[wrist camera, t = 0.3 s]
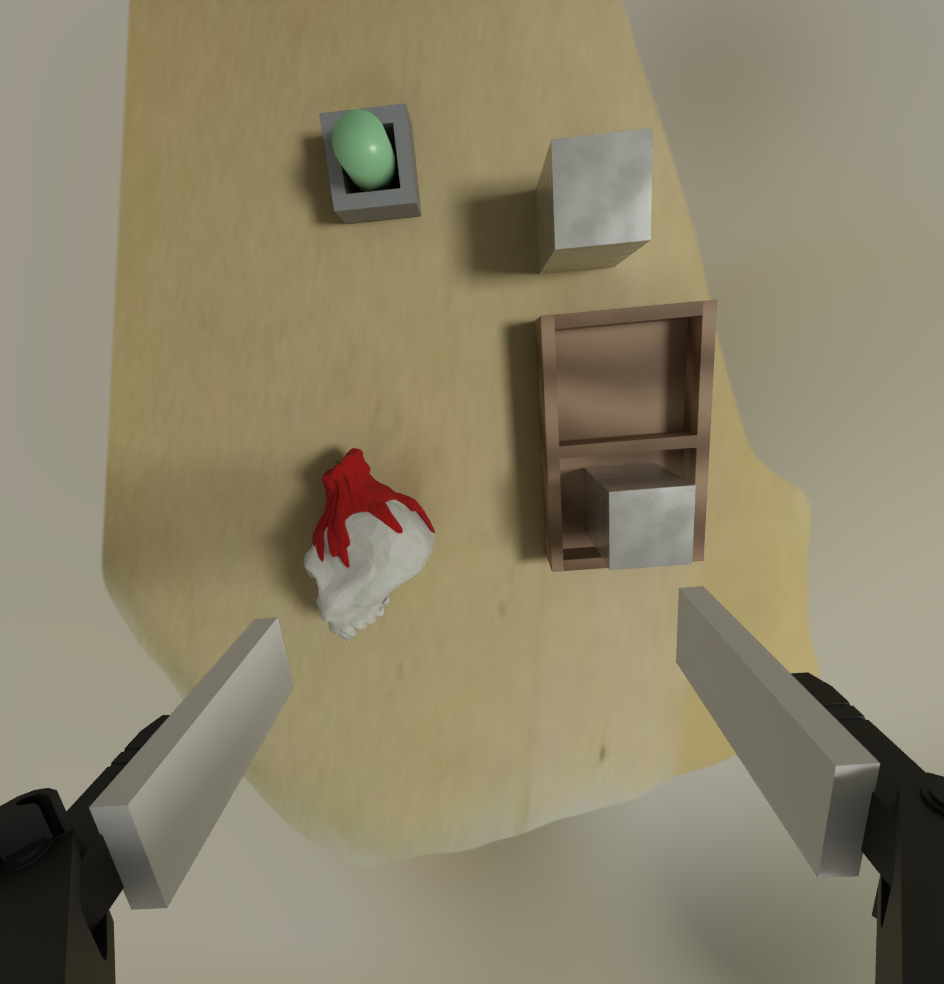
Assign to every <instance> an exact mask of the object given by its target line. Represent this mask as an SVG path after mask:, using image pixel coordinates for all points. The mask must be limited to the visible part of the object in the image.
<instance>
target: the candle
mask: <svg viewBox="0 0 944 984" xmlns="http://www.w3.org/2000/svg"><path fill="white" fill-rule="evenodd" d="M336 463H337V464H338V465H335V466H334V468H333V469H330V470H328V471H326V473H325V474H324V475H323V477H322V481H323V484H324V487H325V489H326V495H327V499H326V508H325V511H324V513H323V515H322V516H321V518H320V519H319V521H318V523H317V526H316V529H315V532H314V533H313V543H312V546H311V548H310V549H309V551H308V552H307V553H306V554H305V557H304V567H305V568H306V571H307V573H308V575H309V576H310V577H311V578H316V581H317V585H318V592H319V593H318V597H317V600H316V604H317V606H318V608H319V611H320V615H321V618H322V620H323V621H324V622H328V623H329V628H330V631H331V632H332V633H334V634H338V635H339V636H340V637H341V638H342V639H345V640H347V641H349V640H350V637H354V636H356V634H357V633H356V631H355V629H359V630H361V631H362V630H364V629H365V628H366V627H367V624H373V623H374V622H375V620H376V618H375V616H378V617H382V615H383V613H384V611H385V610H384V606H388V605H389V603H390V602H391V601H390V597H389V594H390V592H391V591H393V590H394V589H395V588H397V587H398V586H400V585H401V584H403V583H404V582H406V581H408V580H409V579H411V578H412V577H414V576H416V575H417V574H418V573H419V571H420V570H421V569H422V568H423V566H424V565H425V564H426V562H427V560H428V558H429V556H430V553H431V551H432V549H433V547H434V533H435V531H434V529H433V526H432V524H431V522H430V520H429V518H428V517H427V515H426V513H425V511H424V510H423V509H422V507H421V506H420V505H419V504H418V502H417V501H416V500H415V499H413V498H411V497H409V496H406V495H403V494H401V493H396V492H394V491H393V490H392V489H391V488H390V487H388V486H386V485H384V484H382V483H379V482H378V481H376V480H375V479H374V478H373V477H372V476H371V475H370V474H369V473H370V467H369V465H368V464H367V463H366V462H365V460H364V457H363V452H362V451H361V450H360V449H356V448H353V449H351V450H350V451H349V452H348V453H347V454H346V456H345V457H344V458H343V459H342V461H341V462H338V461H337V460H336ZM366 623H367V624H366ZM349 636H350V637H349Z"/></svg>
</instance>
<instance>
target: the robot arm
mask: <svg viewBox="0 0 944 984" xmlns="http://www.w3.org/2000/svg"><path fill="white" fill-rule="evenodd" d="M676 662H677V664H678V665H679V667H680V668H681V670H682V672H683V673H684V675H685V676H686V678H687V679H688V681H689V682H690V684H691V685H692V687H693V688H694V690H695V691H696V693H697V694H698V696H699V697H700V699H701V700H702V702H703V704H704V705H705V707H706V708H707V710H708V711H709V713H710V714H711V716H712V717H713V719H714V720H715V722H716V723H717V725H718V726H719V728H720V729H721V731H722V733H723V734H724V736H725V737H726V739H727V740H728V742H729V743H730V745H731V746H732V748H733V749H734V751H735V752H736V754H737V755H738V757H739V758H740V760H741V761H742V763H743V765H744V766H745V767H746V769H747V771H748V772H749V774H750V775H751V777H752V778H753V780H754V781H755V783H756V784H757V786H758V787H759V789H760V790H761V792H762V793H763V795H764V796H765V798H766V800H767V801H768V803H769V804H770V805H771V807H772V809H773V810H774V812H775V813H776V815H777V816H778V818H779V819H780V821H781V822H782V824H783V825H784V827H785V828H786V830H787V831H788V833H789V835H790V836H791V838H792V839H793V841H794V842H795V843H796V845H797V847H798V848H799V850H800V851H801V853H802V854H803V856H804V857H805V859H806V860H807V862H808V864H809V865H810V866H811V868H812V870H813V871H814V872H815V874H816V876H817V877H818V878H829V877H851V876H858V875H859V870H860V866H861V860H862V855H863V853H864V854H865V856H866V857H867V858H868V860H869V861H870V862H871V863H872V865H873V866H874V867H875V868H876V870H877V871H878V872H879V873H880V879H879V884H878V888H877V893H876V898H875V902H874V908H873V912H872V916H874V917H875V918H877V938H876V976H875V984H944V777H943V776H939V775H935V774H932V773H926V772H925V771H923V770H922V769H921V768H920V767H919V766H918V765H917V764H916V763H915V762H914V761H913V760H911V759H910V758H909V757H908V756H907V755H906V754H905V753H904V752H903V751H901V749H900V748H898V747H897V746H896V745H895V744H894V743H893V742H892V741H891V740H890V739H889V738H887V737H886V736H885V735H884V734H883V733H882V732H881V731H880V730H879V729H878V728H877V727H876V726H874V725H873V724H872V723H871V722H870V721H869V720H865V717H864V715H862V714H861V713H860V712H859V711H858V710H857V709H856V708H855V707H854V706H851V705H850V703H849V702H848V701H847V700H846V699H845V698H844V697H843V696H842V695H841V694H840V693H839V692H837V691H836V690H835V689H834V688H833V687H832V686H830V685H829V684H827V683H825V682H823V681H822V680H820V679H818V678H817V677H815V676H813V675H811V674H810V673H808V672H807V673H791V674H790V673H789V672H788V671H787V670H786V669H785V668H784V667H783V666H782V665H781V664H780V663H779V662H778V661H777V660H776V659H775V658H774V657H773V656H772V655H771V654H770V653H769V652H768V651H767V650H766V649H765V648H764V647H763V646H762V645H761V644H760V643H759V642H758V641H757V640H756V639H755V638H754V637H753V636H752V635H751V634H750V633H749V632H748V631H747V630H746V629H745V628H744V627H743V626H742V625H741V624H740V623H739V622H738V621H737V620H736V619H735V618H734V617H733V616H732V615H731V614H730V613H729V612H728V611H727V610H726V609H725V608H724V607H723V606H722V605H721V604H720V603H719V602H718V601H717V600H716V599H715V598H714V597H713V596H712V595H711V594H710V593H709V592H708V591H707V590H706V589H705V588H704V587H703V586H701V587H687V588H679V599H678V626H677V654H676ZM293 688H294V685H293V681H292V677H291V672H290V668H289V664H288V660H287V655H286V651H285V647H284V643H283V638H282V634H281V630H280V626H279V621H278V617H276V618H262V619H255V620H254V621H253V622H252V623H251V624H250V625H249V626H248V628H247V629H246V630H245V631H244V632H243V633H242V634H241V636H240V637H239V638H238V639H237V640H236V641H235V642H234V643H233V645H232V646H231V647H230V648H229V649H228V650H227V651H226V653H225V654H224V655H223V656H222V657H221V658H220V659H219V660H218V662H217V663H216V664H215V665H214V666H213V667H212V668H211V670H210V671H209V672H208V673H207V674H206V675H205V676H204V678H203V679H202V680H201V681H200V682H199V683H198V684H197V685H196V687H195V688H194V689H193V690H192V691H191V692H190V693H189V695H188V696H187V697H186V698H185V699H184V700H183V701H182V703H181V704H180V705H179V706H178V707H177V708H176V709H175V710H174V712H173V713H172V714H171V715H162V716H161V717H159V718H158V719H157V720H155V721H154V722H152V723H151V724H150V725H149V726H147V727H146V728H144V729H143V730H142V731H140V732H139V734H138V735H137V736H136V737H135V738H134V739H133V740H132V741H131V742H130V743H129V744H128V745H127V747H126V748H125V750H124V752H121V753H120V754H119V755H118V756H117V757H116V758H115V759H114V761H113V762H112V763H111V766H110V767H107V768H106V769H105V770H104V771H103V772H102V774H101V775H100V776H99V777H98V778H97V779H96V780H95V781H94V782H93V783H92V784H91V785H90V787H89V788H88V789H87V790H86V791H85V792H84V793H83V794H82V795H81V796H80V797H79V799H78V800H77V801H76V802H75V803H74V804H73V805H72V806H71V807H70V808H69V809H68V810H67V811H66V810H65V808H64V806H63V803H62V801H61V799H60V796H59V794H58V792H57V790H54V789H50V788H45V789H38V790H33V791H31V792H28V793H25V794H23V795H20V796H18V797H16V798H14V799H12V800H10V801H9V802H7V803H5V804H3V805H1V806H0V984H115V950H114V922H113V918H112V916H111V913H110V911H109V909H110V907H111V906H112V904H113V903H114V901H115V900H116V898H117V897H118V895H119V894H120V893H121V891H122V890H124V893H125V895H126V897H127V900H128V902H129V905H130V907H131V909H153V908H167V907H168V905H169V904H170V902H171V900H172V898H173V897H174V895H175V893H176V891H177V890H178V888H179V886H180V885H181V883H182V881H183V879H184V877H185V876H186V874H187V872H188V871H189V869H190V867H191V865H192V864H193V862H194V860H195V858H196V857H197V855H198V853H199V851H200V850H201V848H202V846H203V845H204V843H205V841H206V839H207V838H208V836H209V834H210V832H211V831H212V829H213V827H214V825H215V824H216V822H217V820H218V819H219V817H220V815H221V813H222V811H223V810H224V808H225V806H226V805H227V803H228V801H229V799H230V798H231V796H232V794H233V792H234V791H235V789H236V787H237V785H238V784H239V782H240V780H241V778H242V777H243V775H244V773H245V772H246V770H247V768H248V766H249V765H250V763H251V761H252V759H253V758H254V756H255V754H256V752H257V751H258V749H259V747H260V745H261V744H262V742H263V740H264V739H265V737H266V735H267V733H268V732H269V730H270V728H271V726H272V725H273V723H274V721H275V719H276V718H277V716H278V714H279V712H280V711H281V709H282V707H283V706H284V704H285V702H286V700H287V699H288V697H289V695H290V693H291V692H292V690H293Z"/></svg>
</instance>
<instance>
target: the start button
mask: <svg viewBox="0 0 944 984" xmlns="http://www.w3.org/2000/svg"><path fill="white" fill-rule="evenodd" d="M332 145H333V150H334V153H335V155H336V157H337V159H338V161H339V162H340V164H341V165H342V167H343V168H344V169H345V171H346V172H347V174H348V175H349V177H350V178H351V180H352V181H353V182H354V184H355V185H356V186H357V187H358V188H359V189H361V190H363V191H365V192H371V191H380V190H386V189H387V188H388V187H389V186H390V185H391V184H392V182H393V180H394V178H395V175H396V171H397V162H396V157H395V154H394V152H393V149H392V147H391V144H390V142H389V139H388V137H387V134H386V132H385V129H384V127H383V125H382V123H381V122H380V121H379V119H378V118H377V117H376V116H375V115H373V114H372V113H370V112H368V111H366V110H361V109H355V110H351V111H348V112H346V113H345V114H343V115H342V116H341V117H340V118H339V120H338V121H337V123H336V124H335V127H334V130H333V135H332Z"/></svg>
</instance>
